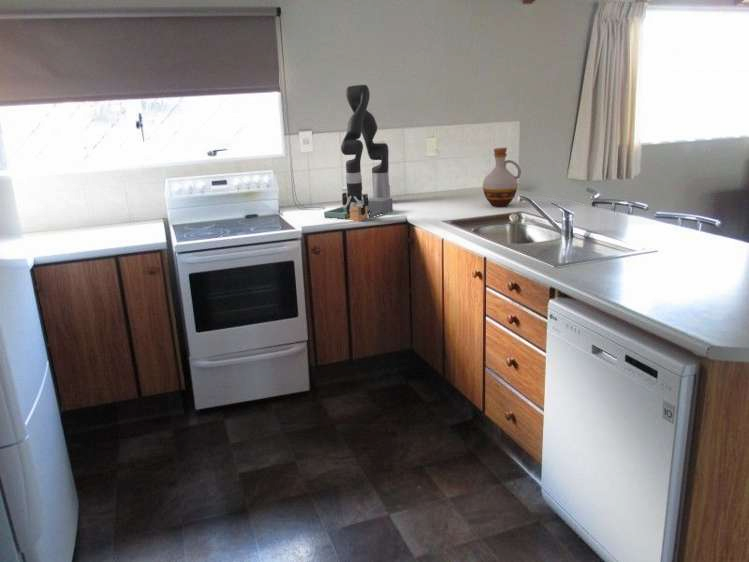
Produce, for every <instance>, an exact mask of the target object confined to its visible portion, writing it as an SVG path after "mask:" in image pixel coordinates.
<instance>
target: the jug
mask: <svg viewBox="0 0 749 562" xmlns="http://www.w3.org/2000/svg"><path fill="white" fill-rule="evenodd" d="M507 149H508V148H507V147H496V148H493V151H494V153H493V156H494V159H495V167H494V168H493V169H492V171H490V172H489V173H488V174H487V175H486V176H485V177H484V179H483V182H482V190H483V195H484V196H485V199H486V200H487V201H488V203H489V204H490V205H491V206H492V207H494V208H504V207H508V206H509V205H510V203H511V202H512V201H513V200H514V198H515V196H516V193H517V191H518V180H517V179H520V177H521V175H522V169H521V167H520V165H519V164H518V163H517V162H516V161H514V160H511V159H507V160H506V157H507V155H508V153H507ZM509 163H510V164H512V165H514V166H515V167H516V169H517V175H514V174H512V173H511V172H510V171H509V170H508V169H507V164H509Z"/></svg>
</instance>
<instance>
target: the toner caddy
mask: <svg viewBox="0 0 749 562" xmlns="http://www.w3.org/2000/svg"><path fill="white" fill-rule="evenodd" d="M361 208H362V207H361V206H360V205H359V204H358V205H355V206H352V207H350V210H349V211H350V218H349V219H350V220H353V221H352V222H358V223H359V222H362V221H364V220H363V219H365V218H368V219H369V214H368V215H367V206H366V207H365V212H366V213H365V215H361ZM350 220H349V221H350ZM361 220H362V221H361ZM365 220H366V219H365Z"/></svg>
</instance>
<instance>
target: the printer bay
mask: <svg viewBox="0 0 749 562" xmlns="http://www.w3.org/2000/svg"><path fill="white" fill-rule="evenodd" d="M368 203H369V205H368V206H367V214H368V219H369V218H371V219H373V218H372V217H374V216H377V215H380V214H384V215H386V214H385V213H387V214H389V213H388V212H390V213H392V212H391V211H393V209H394V208H393V207H394V206H393V197H392V198H391V197H390V198H380V197H376V198H373V197H372V198H370V199H369V198H368ZM369 213H370V214H369ZM380 216H381V215H380ZM377 217H378V216H377ZM374 218H375V217H374Z"/></svg>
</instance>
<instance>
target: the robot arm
mask: <svg viewBox="0 0 749 562" xmlns="http://www.w3.org/2000/svg"><path fill="white" fill-rule="evenodd" d="M345 96H346V99H347V102H348V105H349V107H350V108H351V110H352V112H353V114H352V115H351V116H350V117H349V119H348V121H347V122H348V123H347V128H346V129H347V130H346V133H345V136H344V138H343V139H342V142H341V144H340V145H341V146H340V151H341V153H342V154H343V155H344V156H355V157H354V158H352V159H349V160H347V161H345V170H346V171H345V173H346V175H345V176H346V177H345V179H346V186H347V191H348V193H343V194H342V193H341V205H342V204H343V205H345V206H346V212H347V214H350V211H349V210H350V207H351V206H350V205H351V203H352V202H355V203H358V204H359V205H360V206H361V207H362V208H361V215H365V213H366V212H365V207H366V206H368V205H369V203H368V200H369V196H368V193H364V194H363V192H362V191H363V182H362V181H363V180H362V172H361V171H362V170H361V169H362V168H361V161H362V155H363V151H364V144H363V142H362V140H360V138H361V137H362V138H363V140H364V143H365V148H366V150H367V155H368V157H369V159H370V160H372V161H380V163H379V164H378V165H376V166H373V167H372V168H371V176H372V177H371V178H372V194H373V196H372V198H376V197H380V198H391V186H390V179H389V178H390V176H389V175H390V174H389V172H390V171H389V166H390V165H389V146H388V144H387V142H376V143H375V142H374V141H373V140H374V138H375V135H376V134H377V132H378V124H377V121H376V118H375V117H374V115H373V113H371V112H370V111H368V109H367V108H368V105H369V103H370V102H369V101H370V89H369V86H368V85H367V84H356V85H349V86H348V87H346V90H345ZM347 197H348V198H349V199H348V200H347Z"/></svg>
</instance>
